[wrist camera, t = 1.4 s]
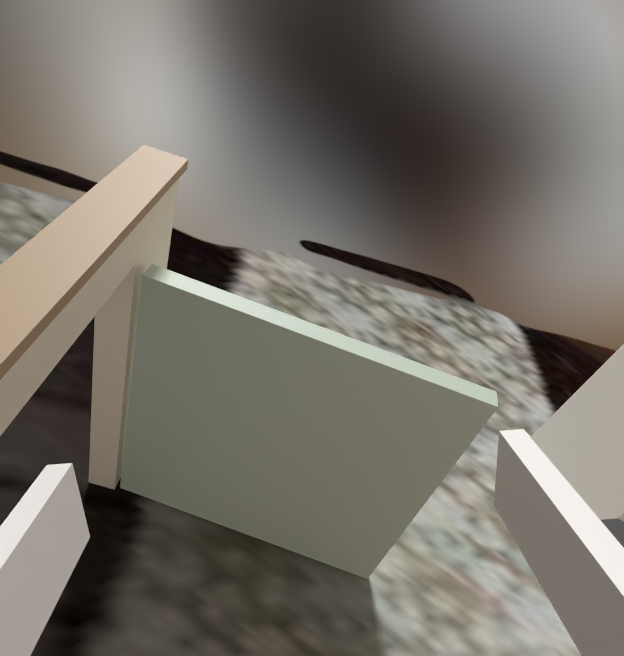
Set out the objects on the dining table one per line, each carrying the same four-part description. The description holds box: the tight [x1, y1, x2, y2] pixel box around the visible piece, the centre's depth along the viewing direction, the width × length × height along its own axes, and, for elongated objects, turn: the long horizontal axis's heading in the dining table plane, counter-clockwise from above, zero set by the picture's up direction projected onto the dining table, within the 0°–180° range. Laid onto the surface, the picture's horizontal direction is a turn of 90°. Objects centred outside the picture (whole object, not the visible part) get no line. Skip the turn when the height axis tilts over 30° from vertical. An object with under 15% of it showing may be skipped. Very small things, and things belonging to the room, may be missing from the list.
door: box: [120, 264, 498, 579], centre depth 34 cm, size 3×20×20 cm, turn 78°
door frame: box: [0, 145, 188, 490], centre depth 24 cm, size 3×34×25 cm, turn 173°
